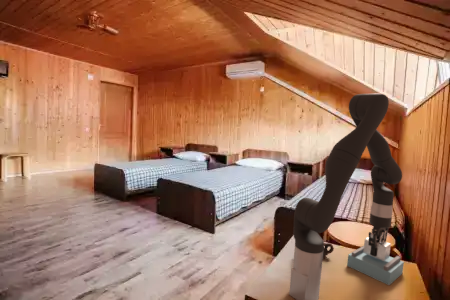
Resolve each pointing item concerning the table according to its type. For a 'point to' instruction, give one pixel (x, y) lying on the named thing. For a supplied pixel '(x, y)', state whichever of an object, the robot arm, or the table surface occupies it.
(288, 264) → the table surface
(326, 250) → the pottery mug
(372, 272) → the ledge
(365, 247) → the block
